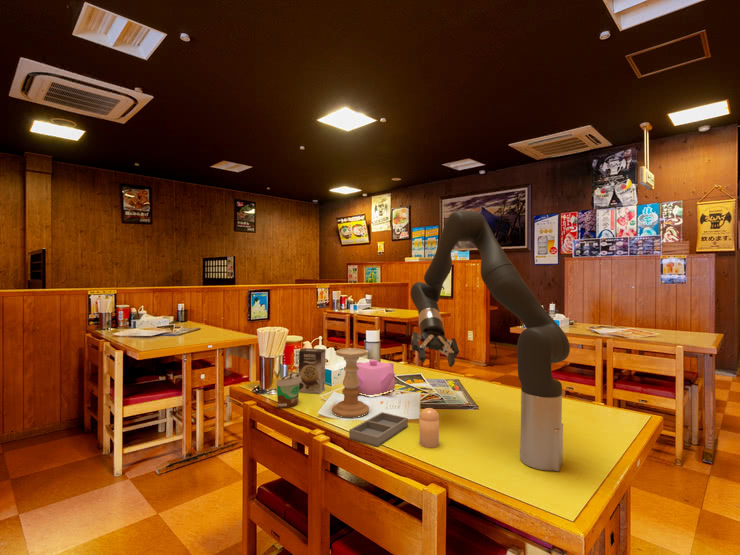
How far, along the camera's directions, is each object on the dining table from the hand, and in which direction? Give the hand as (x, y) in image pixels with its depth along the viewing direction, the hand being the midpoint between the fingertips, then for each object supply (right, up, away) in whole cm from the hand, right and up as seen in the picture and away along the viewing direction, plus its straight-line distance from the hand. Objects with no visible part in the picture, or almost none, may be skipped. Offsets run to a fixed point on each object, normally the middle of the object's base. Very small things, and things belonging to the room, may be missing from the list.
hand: (437, 363), depth 116 cm
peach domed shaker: (-4, -20, -8) cm, 22 cm away
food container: (-47, -19, +23) cm, 56 cm away
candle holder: (-26, -20, +16) cm, 36 cm away
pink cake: (-18, -20, +39) cm, 47 cm away
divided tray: (-17, -20, -1) cm, 26 cm away
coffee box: (-42, -19, +39) cm, 61 cm away
